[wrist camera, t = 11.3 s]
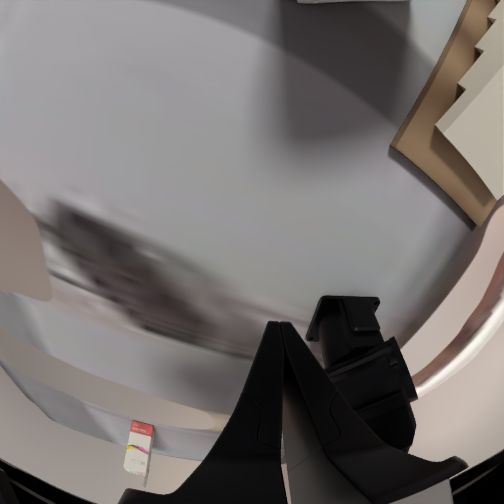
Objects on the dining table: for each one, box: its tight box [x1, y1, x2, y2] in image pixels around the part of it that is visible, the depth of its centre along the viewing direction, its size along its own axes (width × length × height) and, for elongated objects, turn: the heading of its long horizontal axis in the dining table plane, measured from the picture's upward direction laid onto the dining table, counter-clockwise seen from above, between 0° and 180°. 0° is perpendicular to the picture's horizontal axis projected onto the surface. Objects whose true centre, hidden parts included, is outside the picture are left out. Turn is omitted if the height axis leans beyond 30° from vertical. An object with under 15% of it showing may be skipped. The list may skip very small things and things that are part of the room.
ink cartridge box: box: [123, 421, 154, 487], centre depth 42 cm, size 9×5×15 cm, turn 164°
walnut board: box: [390, 0, 499, 228], centre depth 13 cm, size 24×14×1 cm, turn 154°
